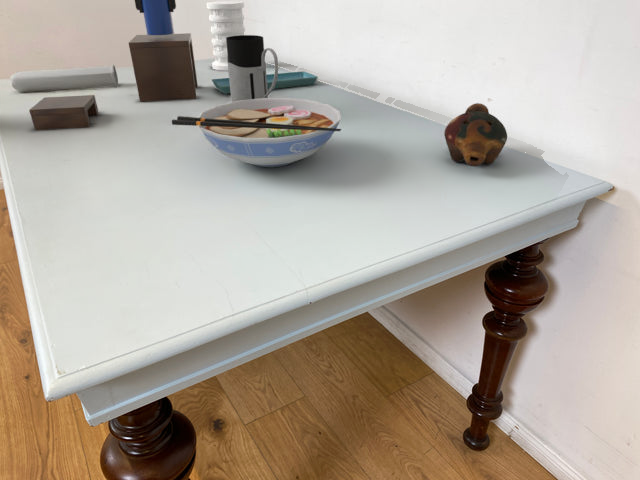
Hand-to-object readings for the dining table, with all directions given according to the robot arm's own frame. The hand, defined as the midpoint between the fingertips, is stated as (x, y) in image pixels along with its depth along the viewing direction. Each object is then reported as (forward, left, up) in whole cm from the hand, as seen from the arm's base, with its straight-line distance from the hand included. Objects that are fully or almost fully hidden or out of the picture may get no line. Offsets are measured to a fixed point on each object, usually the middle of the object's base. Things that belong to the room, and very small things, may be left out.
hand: (156, 11), depth 110 cm
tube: (-27, +12, -19) cm, 35 cm away
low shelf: (-19, -20, -18) cm, 33 cm away
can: (0, 0, -5) cm, 5 cm away
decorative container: (+16, +32, -19) cm, 40 cm away
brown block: (0, 0, -18) cm, 18 cm away
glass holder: (+20, -23, -19) cm, 36 cm away
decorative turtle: (+52, -58, -19) cm, 80 cm away
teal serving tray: (+24, +2, -19) cm, 31 cm away
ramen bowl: (+20, -51, -19) cm, 58 cm away
